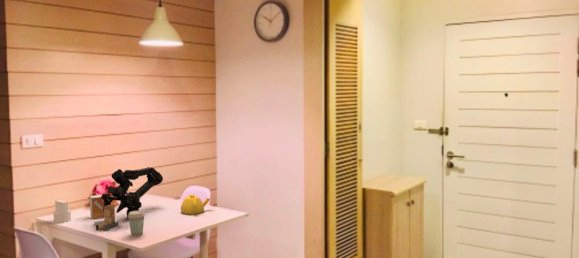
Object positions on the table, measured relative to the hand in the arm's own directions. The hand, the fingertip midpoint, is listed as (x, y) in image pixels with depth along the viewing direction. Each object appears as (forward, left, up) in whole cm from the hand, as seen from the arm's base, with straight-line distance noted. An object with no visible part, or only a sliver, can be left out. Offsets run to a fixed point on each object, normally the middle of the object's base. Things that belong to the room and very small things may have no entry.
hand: (110, 211), depth 262 cm
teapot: (-51, -11, -9) cm, 53 cm away
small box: (+5, -24, -9) cm, 26 cm away
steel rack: (+2, +2, -8) cm, 9 cm away
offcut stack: (+4, +4, -9) cm, 10 cm away
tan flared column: (0, 0, -8) cm, 8 cm away
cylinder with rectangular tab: (+25, -24, -9) cm, 36 cm away
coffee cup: (-12, +21, -9) cm, 26 cm away
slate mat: (+5, -9, -8) cm, 13 cm away
